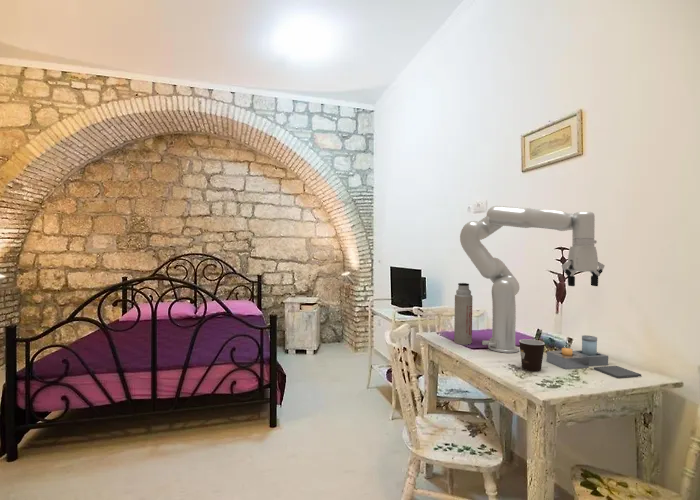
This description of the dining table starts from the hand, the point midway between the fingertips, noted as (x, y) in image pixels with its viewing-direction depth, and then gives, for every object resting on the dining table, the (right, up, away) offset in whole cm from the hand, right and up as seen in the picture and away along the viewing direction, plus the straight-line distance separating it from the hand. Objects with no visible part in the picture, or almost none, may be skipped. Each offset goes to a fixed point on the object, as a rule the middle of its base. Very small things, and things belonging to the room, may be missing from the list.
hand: (582, 285), depth 154 cm
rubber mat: (+4, -30, -14) cm, 34 cm away
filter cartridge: (+2, -30, -1) cm, 30 cm away
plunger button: (-9, -28, -5) cm, 29 cm away
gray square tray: (+2, -30, -1) cm, 30 cm away
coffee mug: (-25, -30, -9) cm, 40 cm away
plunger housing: (-9, -30, -5) cm, 32 cm away
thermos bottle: (-40, -30, +28) cm, 57 cm away
